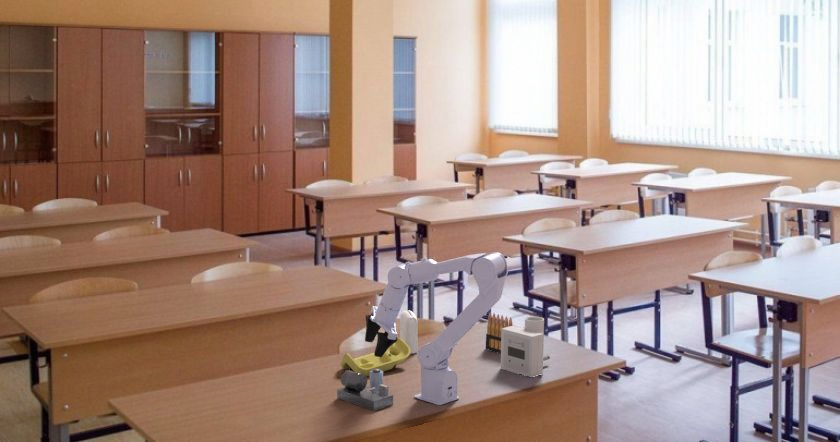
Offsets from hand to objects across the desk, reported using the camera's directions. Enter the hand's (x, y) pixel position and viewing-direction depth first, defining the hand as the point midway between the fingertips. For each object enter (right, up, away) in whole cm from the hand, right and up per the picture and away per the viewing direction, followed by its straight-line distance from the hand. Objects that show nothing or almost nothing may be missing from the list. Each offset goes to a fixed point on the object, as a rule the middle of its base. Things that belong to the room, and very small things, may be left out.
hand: (373, 348), depth 270 cm
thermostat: (+46, -9, +21) cm, 51 cm away
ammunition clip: (+38, -6, +39) cm, 54 cm away
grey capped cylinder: (+1, -11, -1) cm, 12 cm away
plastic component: (0, -9, +21) cm, 22 cm away
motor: (-2, -13, -9) cm, 16 cm away
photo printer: (+9, -6, +41) cm, 42 cm away
